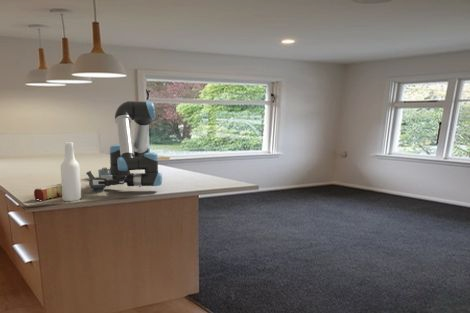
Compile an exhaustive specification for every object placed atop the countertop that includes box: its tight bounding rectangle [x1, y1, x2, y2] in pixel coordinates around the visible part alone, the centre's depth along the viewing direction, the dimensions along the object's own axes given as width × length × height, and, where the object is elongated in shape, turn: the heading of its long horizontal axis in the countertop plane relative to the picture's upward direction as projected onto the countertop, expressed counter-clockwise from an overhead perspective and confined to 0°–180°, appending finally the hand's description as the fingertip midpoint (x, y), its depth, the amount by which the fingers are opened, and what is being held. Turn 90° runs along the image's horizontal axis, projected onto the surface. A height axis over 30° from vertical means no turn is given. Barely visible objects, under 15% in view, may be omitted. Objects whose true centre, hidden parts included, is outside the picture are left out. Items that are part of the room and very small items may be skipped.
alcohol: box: [60, 141, 82, 202], centre depth 173 cm, size 9×9×30 cm
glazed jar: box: [98, 167, 112, 187], centre depth 209 cm, size 7×7×11 cm
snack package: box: [33, 183, 62, 201], centre depth 181 cm, size 21×7×7 cm, turn 160°
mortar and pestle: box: [85, 170, 107, 193], centre depth 193 cm, size 11×9×12 cm
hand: (97, 179), depth 192 cm, fingers open, 13 cm apart
